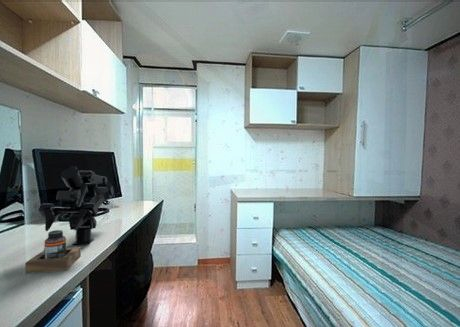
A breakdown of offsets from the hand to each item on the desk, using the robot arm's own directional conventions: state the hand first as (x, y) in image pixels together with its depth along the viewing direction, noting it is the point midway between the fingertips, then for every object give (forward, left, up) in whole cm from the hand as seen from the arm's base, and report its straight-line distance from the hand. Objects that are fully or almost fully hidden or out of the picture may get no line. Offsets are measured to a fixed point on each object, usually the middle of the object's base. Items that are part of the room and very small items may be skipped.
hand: (60, 230), depth 83 cm
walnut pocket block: (+4, 0, -11) cm, 11 cm away
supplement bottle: (+4, 0, -11) cm, 12 cm away
